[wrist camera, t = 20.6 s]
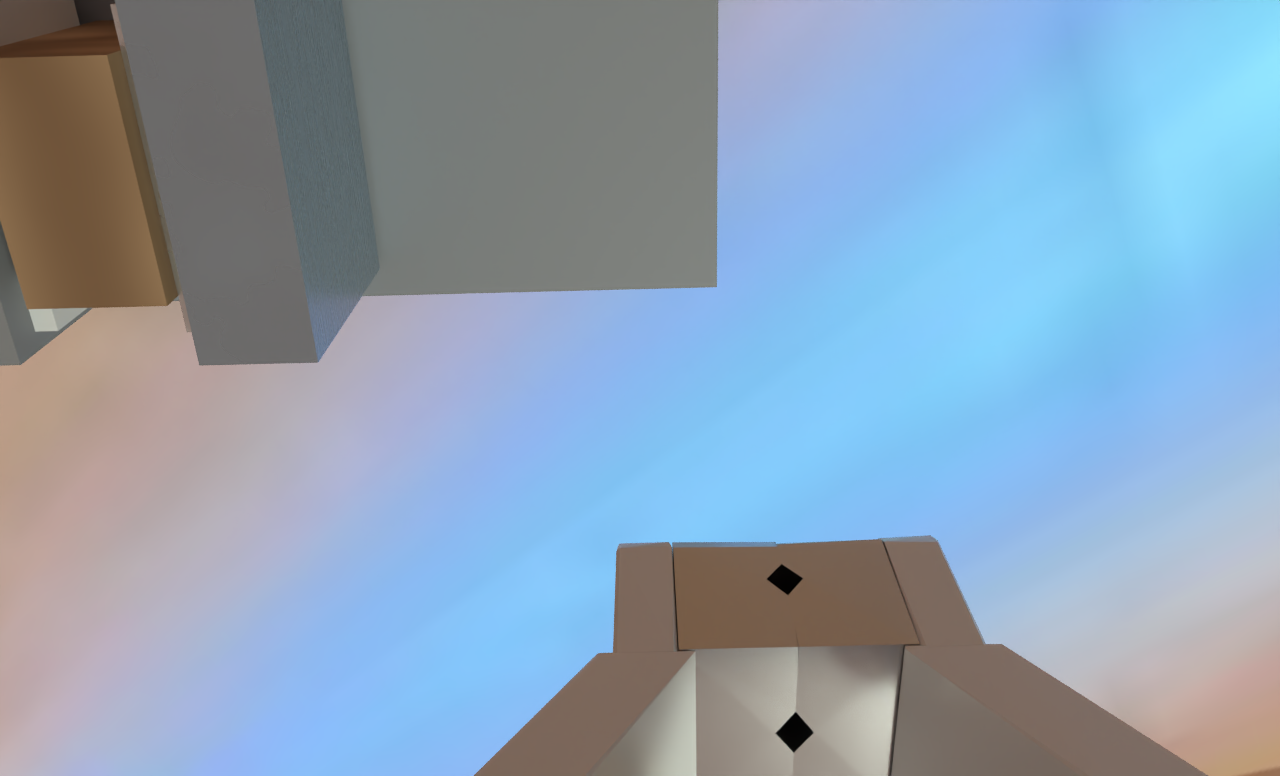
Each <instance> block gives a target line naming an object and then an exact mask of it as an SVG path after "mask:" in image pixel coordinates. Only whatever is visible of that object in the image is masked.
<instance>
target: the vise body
mask: <svg viewBox="0 0 1280 776" xmlns="http://www.w3.org/2000/svg"><path fill="white" fill-rule="evenodd" d="M114 3H115V0H0V46H3V45H7V44H11V43H15V42H18V41H22V40H26V39H30V38H33V37H37V36H41V35H45V34H48V33H52V32H56V31H60V30H63V29H67V28H71V27H75V26H78V25H82V24H86V23H90V22H93V21H100V20H114V19H113V15H112V11H111V6H110V4H114ZM342 6H343V13H344V20H345V27H346V34H347V41H348V48H349V55H350V62H351V69H352V76H353V83H354V90H355V97H356V104H357V111H358V118H359V125H360V132H361V139H362V146H363V153H364V160H365V167H366V174H367V181H368V188H369V195H370V202H371V209H372V216H373V223H374V230H375V237H376V244H377V251H378V258H379V265H380V270H379V271H378V273H377V274H376V276H375V277H374V279H373V280H372V282H371V283H370V285H369V286H368V288H367V289H366V291H365V292H364V294H363V295H362V296H384V295H423V294H462V293H501V292H541V291H580V290H619V289H658V288H698V287H717V117H718V0H342ZM173 301H179V296H177V297H176V298H175V299H174V300H173ZM91 309H92V308H60V309H27V307H26V304H25V300H24V297H23V294H22V290H21V287H20V284H19V281H18V277H17V274H16V271H15V267H14V264H13V261H12V258H11V254H10V251H9V248H8V244H7V241H6V238H5V234H4V231H3V228H2V225H1V221H0V365H21V364H22V363H24V362H25V361H26V360H27V359H29V358H30V357H31V356H33V355H34V354H35V353H36V352H38V351H39V350H40V349H41V348H43V347H44V346H45V345H46V344H48V343H49V342H50V341H52V340H53V339H54V338H55V337H57V336H58V335H59V334H60V333H62V332H63V331H64V330H65V329H67V328H68V327H69V326H70V325H72V324H73V323H74V322H76V321H77V320H78V319H79V318H81V317H82V316H83V315H84V314H86V313H87V312H88V311H89V310H91Z"/></svg>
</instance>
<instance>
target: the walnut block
mask: <svg viewBox="0 0 1280 776" xmlns="http://www.w3.org/2000/svg"><path fill="white" fill-rule="evenodd" d="M0 221H1V225H2V228H3V231H4V234H5V238H6V241H7V244H8V248H9V251H10V254H11V258H12V261H13V264H14V267H15V271H16V274H17V277H18V281H19V284H20V287H21V290H22V294H23V297H24V300H25V304H26V307H27V309H60V308H100V307H139V306H168V305H169V304H170V303H171V302H172V301H173V300H174V299H175V298H176V297H177V296H178V292H177V288H176V284H175V279H174V275H173V271H172V266H171V262H170V258H169V254H168V249H167V245H166V241H165V237H164V232H163V228H162V224H161V220H160V215H159V211H158V207H157V202H156V198H155V194H154V190H153V185H152V181H151V177H150V173H149V168H148V164H147V160H146V156H145V151H144V147H143V143H142V138H141V134H140V130H139V126H138V121H137V117H136V113H135V109H134V104H133V100H132V96H131V92H130V87H129V83H128V79H127V74H126V70H125V66H124V62H123V57H122V53H121V49H120V45H119V40H118V36H117V32H116V28H115V23H114V20H100V21H93V22H90V23H86V24H82V25H78V26H75V27H71V28H67V29H63V30H60V31H56V32H52V33H48V34H45V35H41V36H37V37H33V38H30V39H26V40H22V41H18V42H15V43H11V44H7V45H3V46H0Z"/></svg>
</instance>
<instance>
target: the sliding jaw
mask: <svg viewBox="0 0 1280 776" xmlns="http://www.w3.org/2000/svg"><path fill="white" fill-rule="evenodd" d="M110 6H111V11H112V15H113V19H114V23H115V28H116V32H117V36H118V40H119V45H120V49H121V53H122V57H123V62H124V66H125V70H126V74H127V79H128V83H129V87H130V92H131V96H132V100H133V104H134V109H135V113H136V117H137V121H138V126H139V130H140V134H141V138H142V143H143V147H144V151H145V156H146V160H147V164H148V168H149V173H150V177H151V181H152V185H153V190H154V194H155V198H156V202H157V207H158V211H159V215H160V220H161V224H162V228H163V232H164V237H165V241H166V245H167V249H168V254H169V258H170V262H171V266H172V271H173V275H174V279H175V284H176V288H177V292H178V296H179V301H180V305H181V309H182V313H183V318H184V322H185V326H186V331H187V332H192V335H193V340H194V344H195V348H196V353H197V357H198V361H199V365H234V364H274V363H314V362H319V360H320V359H321V357H322V356H323V354H324V353H325V351H326V350H327V348H328V347H329V345H330V344H331V342H332V341H333V339H334V338H335V336H336V335H337V333H338V332H339V330H340V329H341V327H342V326H343V324H344V323H345V321H346V319H347V318H348V316H349V315H350V313H351V312H352V310H353V309H354V307H355V306H356V304H357V303H358V301H359V300H360V298H361V297H362V295H363V294H364V292H365V291H366V289H367V288H368V286H369V285H370V283H371V282H372V280H373V279H374V277H375V276H376V274H377V273H378V271H379V270H380V265H379V258H378V251H377V244H376V237H375V230H374V223H373V216H372V209H371V202H370V195H369V188H368V181H367V174H366V167H365V160H364V153H363V146H362V139H361V132H360V125H359V118H358V111H357V104H356V97H355V90H354V83H353V76H352V69H351V62H350V55H349V48H348V41H347V34H346V27H345V20H344V13H343V6H342V0H115V3H114V4H110Z"/></svg>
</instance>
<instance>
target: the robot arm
mask: <svg viewBox="0 0 1280 776" xmlns="http://www.w3.org/2000/svg"><path fill="white" fill-rule="evenodd" d="M474 776H1208V775H1206V774H1205V773H1203V772H1201V771H1200V770H1198V769H1197V768H1195V767H1194V766H1192V765H1190V764H1189V763H1187V762H1186V761H1184V760H1183V759H1181V758H1179V757H1178V756H1176V755H1175V754H1173V753H1172V752H1170V751H1168V750H1167V749H1165V748H1164V747H1162V746H1161V745H1159V744H1157V743H1156V742H1154V741H1153V740H1151V739H1150V738H1148V737H1147V736H1145V735H1143V734H1142V733H1140V732H1139V731H1137V730H1136V729H1134V728H1132V727H1131V726H1129V725H1128V724H1126V723H1125V722H1123V721H1121V720H1120V719H1118V718H1117V717H1115V716H1114V715H1112V714H1110V713H1109V712H1107V711H1106V710H1104V709H1103V708H1101V707H1099V706H1098V705H1096V704H1095V703H1093V702H1092V701H1090V700H1088V699H1087V698H1085V697H1084V696H1082V695H1081V694H1079V693H1078V692H1076V691H1074V690H1073V689H1071V688H1070V687H1068V686H1067V685H1065V684H1063V683H1062V682H1060V681H1059V680H1057V679H1056V678H1054V677H1052V676H1051V675H1049V674H1048V673H1046V672H1045V671H1043V670H1041V669H1040V668H1038V667H1037V666H1035V665H1034V664H1032V663H1030V662H1029V661H1027V660H1026V659H1024V658H1023V657H1021V656H1019V655H1018V654H1016V653H1015V652H1013V651H1012V650H1010V649H1009V648H1007V647H1005V646H1004V645H1002V644H985V641H984V639H983V637H982V635H981V633H980V631H979V628H978V626H977V624H976V622H975V620H974V618H973V616H972V613H971V611H970V609H969V607H968V605H967V603H966V600H965V598H964V596H963V594H962V592H961V590H960V587H959V585H958V583H957V581H956V579H955V577H954V574H953V572H952V570H951V568H950V566H949V564H948V561H947V559H946V557H945V555H944V553H943V551H942V548H941V546H940V544H939V542H938V540H936V539H935V538H933V537H932V536H912V537H895V538H879V539H876V540H851V541H827V542H802V543H777V544H776V542H679V543H672V547H671V545H670V544H669V542H661V543H626V544H619V546H618V549H617V552H616V582H615V612H614V642H613V653H598V654H597V655H596V656H595V657H594V658H592V659H591V660H590V661H589V662H588V663H587V664H586V665H585V666H584V667H583V668H582V669H581V670H580V671H579V672H578V673H577V674H576V675H575V676H574V677H573V678H572V679H571V680H570V681H569V682H568V683H567V684H566V685H565V686H564V687H563V688H562V689H561V690H560V691H559V692H558V693H557V694H556V695H555V696H554V697H553V698H552V699H551V700H550V701H549V702H548V703H547V704H546V705H545V706H544V707H543V708H542V709H541V710H540V711H539V712H538V713H537V714H536V715H535V716H534V717H533V718H532V719H531V720H530V721H529V722H528V723H527V724H526V725H525V726H524V727H523V728H522V729H521V730H520V731H519V732H518V733H517V734H516V735H514V736H513V737H512V738H511V739H510V740H509V741H508V742H507V743H506V744H505V745H504V746H503V747H502V748H501V749H500V750H499V751H498V752H497V753H496V754H495V755H494V756H493V757H492V758H491V759H490V760H489V761H488V762H487V763H486V764H485V765H484V766H483V767H482V768H481V769H480V770H479V771H478V772H477V773H476V774H475V775H474Z"/></svg>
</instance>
